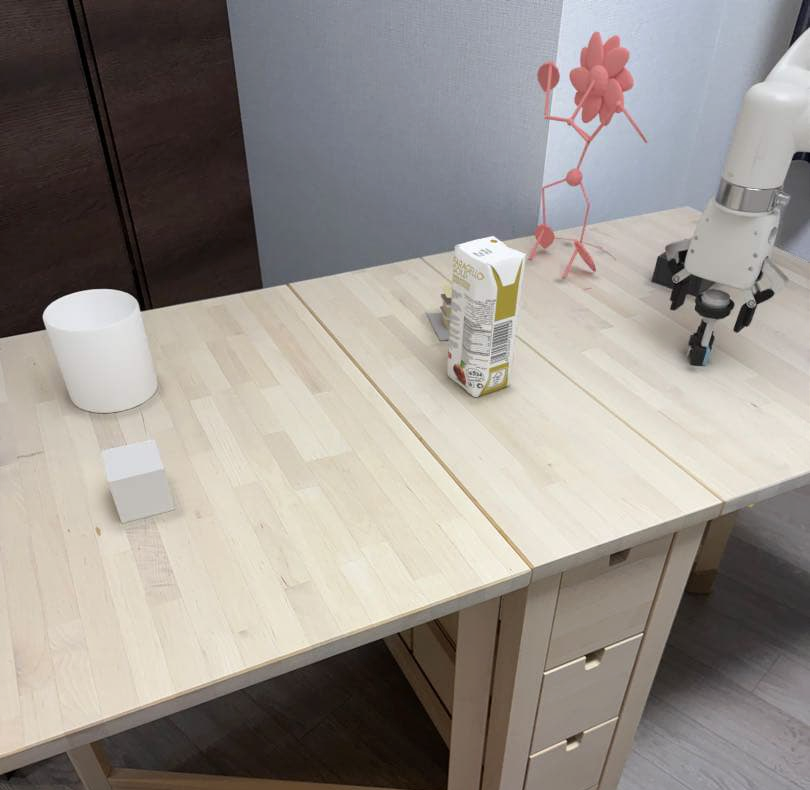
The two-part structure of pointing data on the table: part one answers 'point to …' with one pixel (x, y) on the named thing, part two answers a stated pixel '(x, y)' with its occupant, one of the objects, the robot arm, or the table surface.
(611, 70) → the figurine
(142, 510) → the light grey cube
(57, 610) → the table surface
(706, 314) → the push button
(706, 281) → the open box
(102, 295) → the cup
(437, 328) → the stacked layers on plate
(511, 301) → the juice carton
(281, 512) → the table surface
